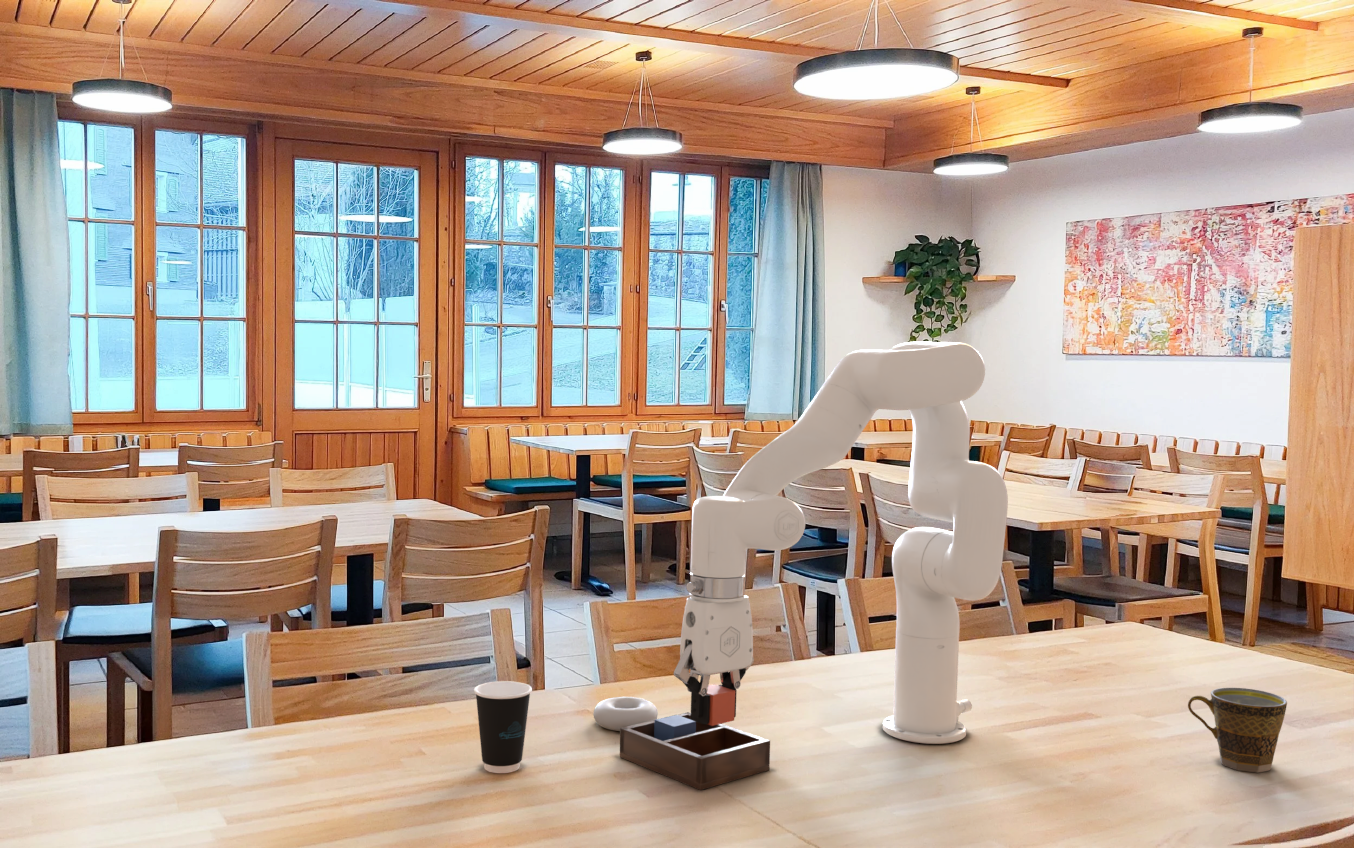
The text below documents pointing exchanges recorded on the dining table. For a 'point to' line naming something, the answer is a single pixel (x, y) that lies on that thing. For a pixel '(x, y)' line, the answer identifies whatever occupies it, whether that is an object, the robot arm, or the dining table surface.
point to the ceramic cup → (1245, 726)
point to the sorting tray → (697, 753)
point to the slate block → (673, 727)
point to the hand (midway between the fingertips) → (713, 717)
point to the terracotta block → (721, 704)
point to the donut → (624, 712)
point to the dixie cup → (502, 723)
